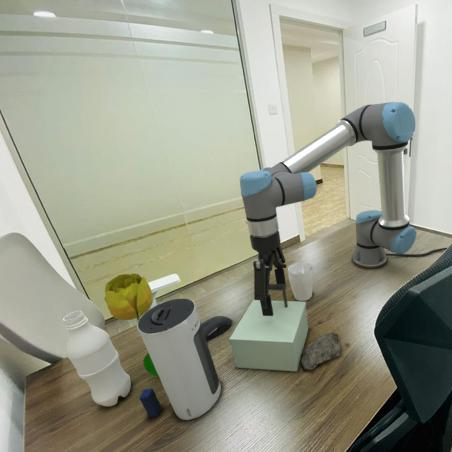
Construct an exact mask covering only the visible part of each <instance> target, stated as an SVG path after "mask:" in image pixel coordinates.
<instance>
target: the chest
mask: <svg viewBox="0 0 452 452" xmlns="http://www.w3.org/2000/svg"><path fill="white" fill-rule="evenodd" d="M308 332H309V324H308V315H307V307H306V306H305V309H304V312H303V315H302V318H301V322H300V325H299V328H298V331H297V334H296V337H295V341H294V344H293V345H289V344H270V343H251V342H232V341H230V340H229V342H230V347H231V351H232V354H233V358H234V361H235V365H236V368H237V369H253V370H269V371H284V372H298V369H299V366H300V363H301V360H302V357H301V354H302V353H303V351H304V347H305V344H306V339H307V337H308V336H307V335H308Z"/></svg>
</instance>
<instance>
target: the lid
mask: <svg viewBox="0 0 452 452" xmlns="http://www.w3.org/2000/svg"><path fill="white" fill-rule="evenodd" d="M269 291H280V292H282V296H283V300H271V303H272V308H273V316H263V314H262V308H261V303H260V300H255V299H253V300H252V301H251V303H250V305H249V306H248V308H247V310H245V313H244V314H243V316H242V318H241V319H240V321H239V322H238V324H237V326H236V327H235V329H234V331H233V332H232V334H231V335H230V337H229V339H228V340H229V342H230V341H232V342H251V343H270V344H289V345H293V344H294V341H295V337H296V334H297V331H298V328H299V325H300V322H301V318H302V315H303V312H304V309H305V306H306V305H307V301H299V300H296V301H295V300H293V301H292V300H288V297H287V283H286V284H277V283H269Z"/></svg>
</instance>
